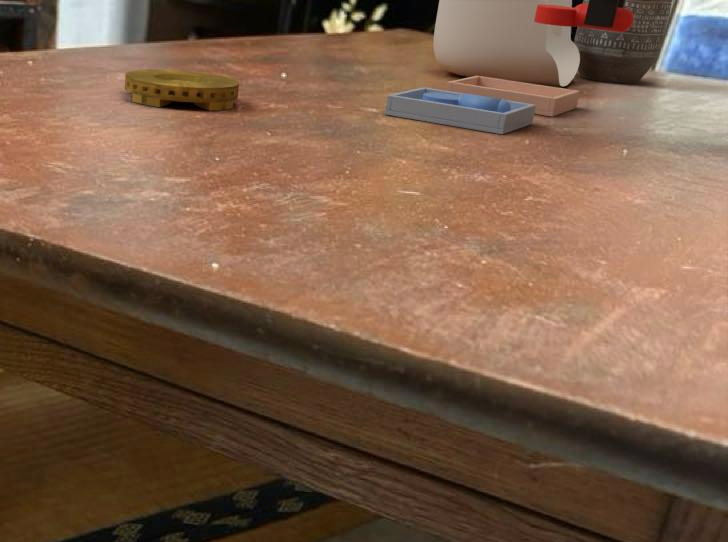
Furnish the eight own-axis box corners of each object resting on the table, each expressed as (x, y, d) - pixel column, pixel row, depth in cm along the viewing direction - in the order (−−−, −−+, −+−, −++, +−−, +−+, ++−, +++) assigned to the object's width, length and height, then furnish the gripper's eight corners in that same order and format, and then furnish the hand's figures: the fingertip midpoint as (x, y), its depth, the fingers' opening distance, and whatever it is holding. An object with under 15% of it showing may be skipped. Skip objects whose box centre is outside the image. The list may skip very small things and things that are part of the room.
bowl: (447, 63, 167) (462, -24, 161) (577, 80, 160) (597, -10, 154) (410, 75, 151) (426, -21, 145) (553, 95, 144) (575, -5, 138)
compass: (230, 95, 123) (232, 74, 122) (243, 113, 113) (245, 91, 112) (123, 87, 122) (124, 66, 121) (125, 105, 112) (126, 82, 111)
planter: (643, 88, 158) (668, -10, 152) (558, 76, 163) (579, -20, 157) (657, 81, 167) (682, -12, 161) (576, 70, 172) (597, -21, 166)
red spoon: (635, 32, 113) (641, 9, 112) (625, 34, 109) (631, 10, 108) (540, 20, 117) (545, -3, 116) (528, 22, 114) (533, -2, 112)
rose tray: (576, 108, 135) (580, 90, 134) (552, 116, 127) (556, 98, 126) (472, 92, 141) (476, 75, 140) (444, 99, 133) (447, 81, 132)
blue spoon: (514, 120, 119) (518, 98, 118) (501, 124, 116) (505, 102, 115) (429, 106, 124) (432, 85, 123) (414, 110, 120) (417, 88, 119)
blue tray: (532, 124, 121) (536, 104, 120) (502, 134, 114) (506, 114, 113) (419, 105, 127) (422, 87, 126) (384, 114, 119) (387, 94, 118)
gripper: (643, -244, 108) (583, 18, 120) (607, -269, 97) (544, 23, 108) (724, -243, 105) (654, 26, 116) (696, -269, 93) (622, 33, 105)
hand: (601, 24), depth 112 cm, fingers closed on red spoon, 2 cm apart
